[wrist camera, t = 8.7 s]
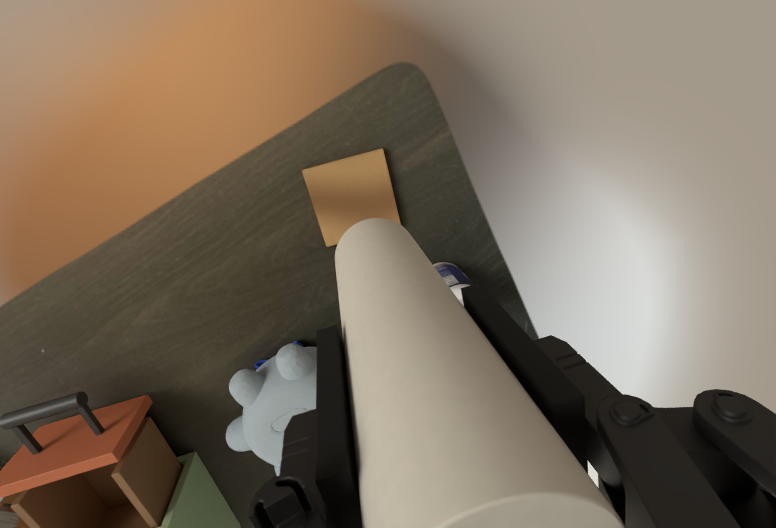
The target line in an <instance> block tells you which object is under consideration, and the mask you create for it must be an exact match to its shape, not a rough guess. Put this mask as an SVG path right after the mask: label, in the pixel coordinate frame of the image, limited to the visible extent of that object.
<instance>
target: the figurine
mask: <svg viewBox="0 0 776 528" xmlns="http://www.w3.org/2000/svg"><path fill="white" fill-rule="evenodd" d="M255 368H256V371H254V370H251V369H242V370H240V371H238V372H237V373H236V374H235V375H234V376H233V377H232V378H231V380H230V384H229V390H230V393H231V395H232V396H233V397H234V399H235V400H236V401H237V402H238V403H239V404H241V405H242V406H243V415H242V416H240V417H238V418H237V419H235V420H234V421H232V423H231V424H230V425H229V426H228V428H227V431H226V441H227V444H228V445H229V447H230V448H232V449H233V450H235V451H248V450H252V451H253V452H254V453H255V454H256V455H257V456H258V457H260V458H261V459H263V460H264V461H266V462H268V463H270V464H272V465H274V466H275V472H276V475H277V476H279V474H280V465H281V460H282V457H281V456H282V448H283V438H284V430H285V428H286V426H287V425H288V423H289V421H290V419H291V417H292V416H294V415H297V414H300V413H303V412H307V411H310V410H313V409H316V369H317V347H304V346H303V345H302V344H300V343H299V342H298V341H294V342H293V343H292V344H288V345H285V346H283V347H282V348H281V349H280V350H279V351H278V353H277V355H276V356H274V357H272V358H271V359H269V360H260V361H258V362H257V363H256V364H255Z"/></svg>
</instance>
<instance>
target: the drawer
mask: <svg viewBox="0 0 776 528" xmlns="http://www.w3.org/2000/svg"><path fill="white" fill-rule="evenodd" d="M87 402H88V397H87V394H86V393H85V392H78V393H74V394H71V395H67V396H64V397H61V398H57V399H54V400H50V401H47V402H44V403H40V404H37V405H33V406H30V407H27V408H23V409H20V410H16V411H13V412H10V413H6V414H4V415H3V416H1V418H0V426H1V427H2V428H3V429H9V428H11V429H12V430H13V432H14V433H15V434H16V435H17V436H18V437H19V439H20V440H21V441H22V442H23V443H24V445H23V446H22V447H21V448H20V449H19V450H18V451H17V452H16V454H15V455H14V456H13V457H12V458H11V459H10V460H9V461H8V463H7V464H6V465H5V466H4V467H3V468H2V469H1V471H0V498H2V497H5V496H8V495H12V494H15V493H18V492H21V491H22V492H21V493H20V494H19V496H18V497H17V498H16V500H15V501H14V502H13V503H12V505H11V506H10V507H11V508H12V509H13V510H14V511H15V512H16V513H17V514H18V515H19V517H20V518H21V519H22V520H23V521H24V522H25V523H26V524H27V525H28V526H29V527H30V528H156V527H159V526H162V522H163V520H164V517H165V515H166V512H167V509H168V507H169V504H170V501H171V499H172V496H173V494H174V491H175V488H176V486H177V483H178V480H179V478H180V475H181V473H182V470H183V467H182V465H181V464H180V462H179V461H178V459H177V458H176V456H175V454H174V453H173V451H172V450H171V448H170V447H169V445H168V444H167V442H166V440H165V439H164V437H163V436H162V434H161V433H160V431H159V430H158V428H157V426H156V425H155V423H154V422H153V420H152V419H151V417H147V418H144V416H145V415H146V413H147V411H148V409H149V408H150V406H151V404H152V401H151V399H150V397H149V396H148V394H147V395H143V396H140V397H137V398H133V399H130V400H127V401H123V402H120V403H117V404H113V405H110V406H107V407H103V408H100V409H97V410H93V411H91V410H90V408H89V407H88V405H87ZM73 409H77V410H78V412H79V413H80V415H76V416H73V417H70V418H66V419H63V420H60V421H56V422H53V423H50V424H46V425H43V426H40V427H39V428H38V429H37V430H36V431H35V432H34V433H33V434H31V433H30V432H29V431H28V429H27V428H26V427H25V426H24V424H26V423H30V422H33V421H36V420H40V419H43V418H46V417H50V416H53V415H57V414H60V413H63V412H67V411H70V410H73ZM143 418H144V419H143Z"/></svg>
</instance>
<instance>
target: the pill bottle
mask: <svg viewBox="0 0 776 528" xmlns="http://www.w3.org/2000/svg"><path fill="white" fill-rule="evenodd" d="M433 266H434V267H435V269H436V270H437V271H438V273H439V274H440V275H441V277H442V278H443V279H444V281H445V282H446V284H447V285H448V286H449V288H450V289H451V290H452V292H453V293H454V294H455V296H456V297H457V298H458V300H459V301H460V302H461V304H462V305H463V306H464V304H463V298H462V293H461V288H463V287H467V286H470V285H474V284H473V283H472V281H471V280H470V279H469V278H468V277H467V276H466V275H465V274H464V273H463V272H462V271H461V269H459V268H458V267H457V266H456V265H454V264H451V263H447V262H441V263H436V264H434V265H433Z"/></svg>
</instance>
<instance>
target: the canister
mask: <svg viewBox="0 0 776 528" xmlns="http://www.w3.org/2000/svg"><path fill="white" fill-rule="evenodd" d="M335 266H336V276H337V285H338V295H339V305H340V314H341V324H342V334H343V343H344V353H345V363H346V372H347V382H348V392H349V401H350V411H351V421H352V430H353V440H354V450H355V459H356V469H357V479H358V488H359V498H360V508H361V517H362V527H363V528H625V525H624V524H623V522H622V520H621V519H620V517H619V516H618V514H617V513H616V512H615V510H614V509H613V507H612V506H611V505H610V503H609V502H608V501H607V499H606V498H605V497H604V495H603V494H602V493H601V491H600V490H599V489H598V487H597V486H596V485H595V483H594V482H593V481H592V479H591V478H590V477H589V475H588V474H587V472H586V471H585V470H584V468H583V467H582V466H581V464H580V463H579V462H578V460H577V459H576V458H575V456H574V455H573V454H572V452H571V451H570V449H569V448H568V447H567V445H566V444H565V443H564V441H563V440H562V439H561V437H560V436H559V435H558V433H557V432H556V431H555V429H554V428H553V427H552V425H551V424H550V422H549V421H548V420H547V418H546V417H545V416H544V414H543V413H542V412H541V410H540V409H539V408H538V406H537V405H536V404H535V402H534V401H533V400H532V398H531V397H530V396H529V394H528V393H527V391H526V390H525V389H524V387H523V386H522V385H521V383H520V382H519V381H518V379H517V378H516V377H515V375H514V374H513V373H512V371H511V370H510V369H509V367H508V366H507V364H506V363H505V362H504V360H503V359H502V358H501V356H500V355H499V354H498V352H497V351H496V350H495V348H494V347H493V346H492V344H491V343H490V342H489V340H488V339H487V337H486V336H485V335H484V333H483V332H482V331H481V329H480V328H479V327H478V325H477V324H476V323H475V321H474V320H473V319H472V317H471V316H470V315H469V313H468V312H467V311H466V309H465V308H464V306H463V305H462V304H461V302H460V301H459V300H458V298H457V297H456V296H455V294H454V293H453V292H452V290H451V289H450V288H449V286H448V285H447V284H446V282H445V281H444V279H443V278H442V277H441V275H440V274H439V273H438V271H437V270H436V269H435V267H434V266H433V265H432V263H431V262H430V261H429V259H428V258H427V257H426V255H425V254H424V253H423V251H422V250H421V248H420V247H419V246H418V244H417V243H416V242H415V240H414V239H413V238H412V236H411V235H410V234H409V232H408V231H407V230H406V229H405V228H404V227H403V226H401V225H400V224H398V223H396V222H394V221H392V220H389V219H384V218H371V219H366V220H363V221H360V222H358V223H356V224H355V225H353V226H352V227H350V228H349V229H348V230H347V231H346V232H345V233H344V234H343V236H342V237H341V239H340V240H339V242H338V245H337V248H336V252H335Z"/></svg>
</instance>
